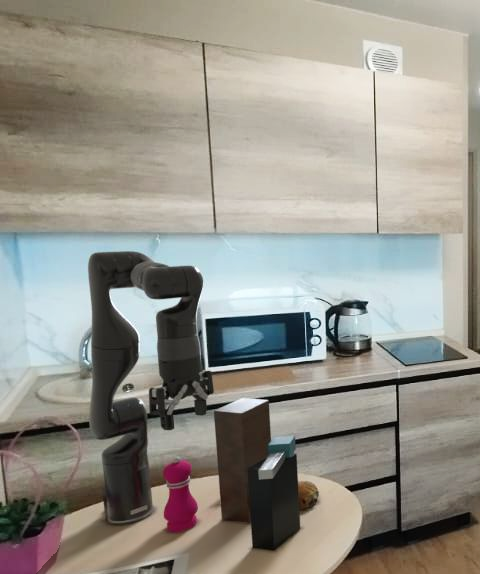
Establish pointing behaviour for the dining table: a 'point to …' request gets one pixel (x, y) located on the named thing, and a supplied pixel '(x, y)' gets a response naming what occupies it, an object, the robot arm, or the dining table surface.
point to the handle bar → (277, 455)
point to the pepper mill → (179, 497)
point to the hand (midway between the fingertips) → (185, 422)
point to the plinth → (240, 452)
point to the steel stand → (274, 505)
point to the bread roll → (307, 494)
